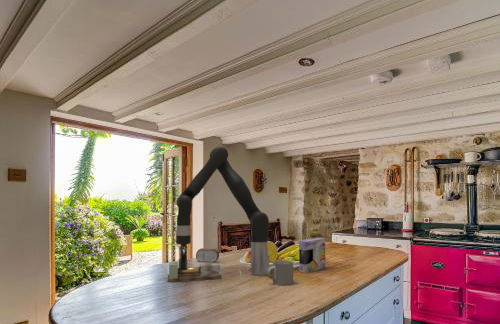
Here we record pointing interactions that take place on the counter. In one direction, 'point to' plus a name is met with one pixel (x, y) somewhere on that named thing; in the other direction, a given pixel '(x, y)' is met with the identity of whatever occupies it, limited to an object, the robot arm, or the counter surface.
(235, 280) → the counter surface
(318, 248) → the cake pan box
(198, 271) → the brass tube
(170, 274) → the socket block
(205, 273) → the stand
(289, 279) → the coffee mug
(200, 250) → the tin
